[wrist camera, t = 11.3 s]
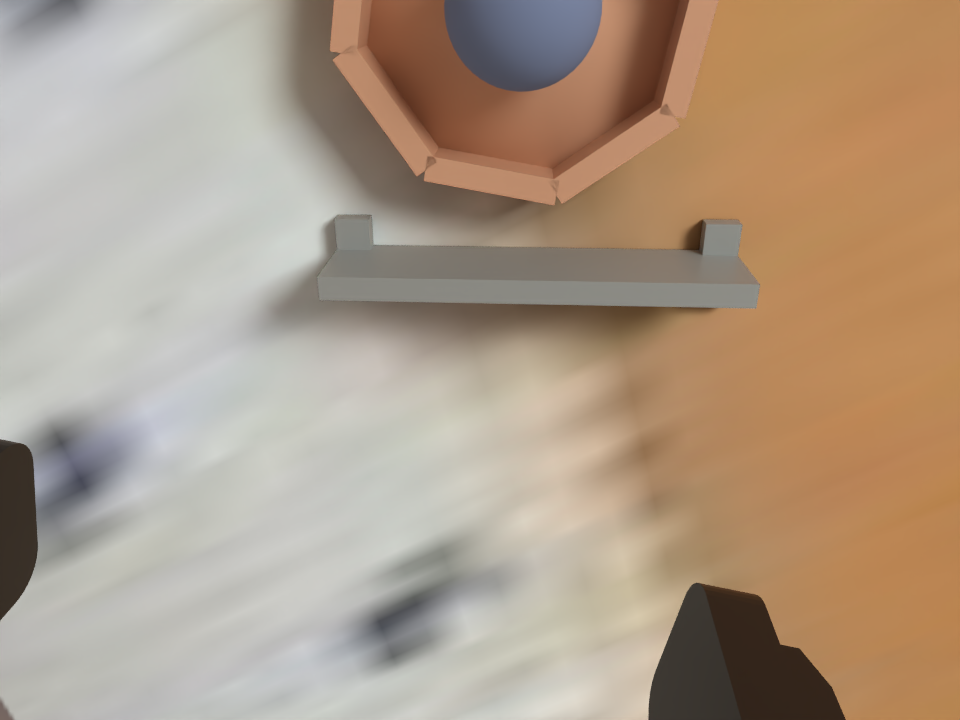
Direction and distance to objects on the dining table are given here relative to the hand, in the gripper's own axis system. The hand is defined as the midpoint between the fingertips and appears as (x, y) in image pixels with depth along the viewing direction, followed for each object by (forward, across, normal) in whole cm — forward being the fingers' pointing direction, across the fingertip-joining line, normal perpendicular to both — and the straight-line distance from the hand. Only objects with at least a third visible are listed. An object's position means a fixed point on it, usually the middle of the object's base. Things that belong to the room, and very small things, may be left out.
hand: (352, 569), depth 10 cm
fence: (+20, -2, +2) cm, 20 cm away
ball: (+19, 0, -6) cm, 20 cm away
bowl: (+20, 0, -6) cm, 21 cm away
